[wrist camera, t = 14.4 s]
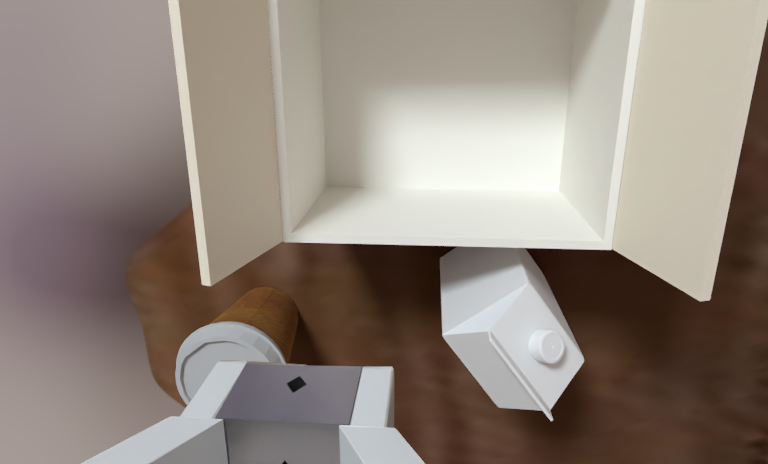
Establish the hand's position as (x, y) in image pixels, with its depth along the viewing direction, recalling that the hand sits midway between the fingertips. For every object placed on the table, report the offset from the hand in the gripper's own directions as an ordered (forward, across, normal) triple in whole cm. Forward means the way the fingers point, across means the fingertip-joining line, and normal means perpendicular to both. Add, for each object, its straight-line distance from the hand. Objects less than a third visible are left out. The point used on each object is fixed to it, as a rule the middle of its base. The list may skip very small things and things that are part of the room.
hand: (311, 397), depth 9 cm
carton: (+41, +3, +3) cm, 41 cm away
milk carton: (+41, +8, -14) cm, 44 cm away
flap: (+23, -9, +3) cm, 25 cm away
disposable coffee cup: (+41, -14, -20) cm, 48 cm away
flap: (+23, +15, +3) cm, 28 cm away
